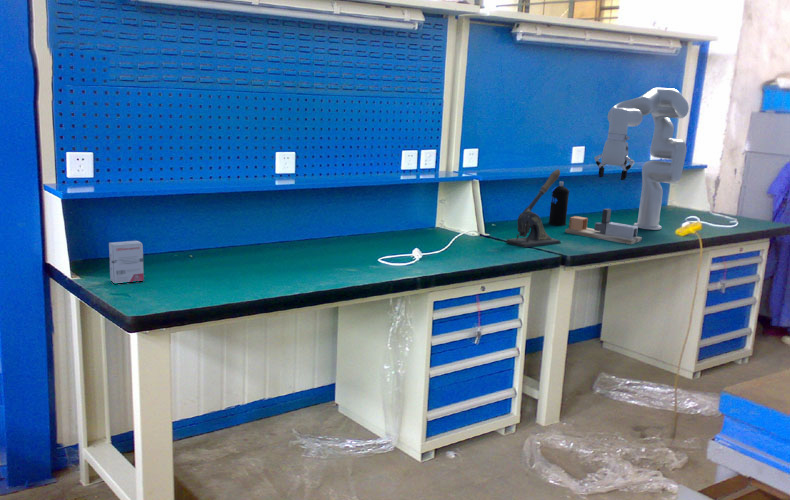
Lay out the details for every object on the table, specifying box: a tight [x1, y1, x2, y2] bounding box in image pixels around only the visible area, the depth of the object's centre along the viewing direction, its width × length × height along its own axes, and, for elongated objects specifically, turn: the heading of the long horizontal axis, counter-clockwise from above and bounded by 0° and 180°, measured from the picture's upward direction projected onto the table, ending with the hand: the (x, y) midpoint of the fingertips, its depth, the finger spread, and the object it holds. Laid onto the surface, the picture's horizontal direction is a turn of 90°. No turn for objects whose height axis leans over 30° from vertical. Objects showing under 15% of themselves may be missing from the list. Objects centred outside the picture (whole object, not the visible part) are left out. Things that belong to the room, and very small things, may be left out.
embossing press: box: [505, 169, 561, 248], centre depth 294 cm, size 11×24×30 cm, turn 126°
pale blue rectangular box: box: [605, 221, 639, 239], centre depth 313 cm, size 5×12×5 cm, turn 51°
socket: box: [568, 215, 589, 231], centre depth 325 cm, size 6×6×5 cm
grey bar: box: [593, 208, 635, 236], centre depth 314 cm, size 4×16×10 cm, turn 51°
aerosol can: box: [547, 181, 570, 227], centre depth 340 cm, size 8×8×20 cm
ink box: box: [108, 240, 145, 284], centre depth 212 cm, size 9×5×12 cm, turn 124°
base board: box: [565, 227, 643, 245], centre depth 319 cm, size 12×30×2 cm, turn 51°
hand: (611, 178), depth 311 cm, fingers open, 9 cm apart
